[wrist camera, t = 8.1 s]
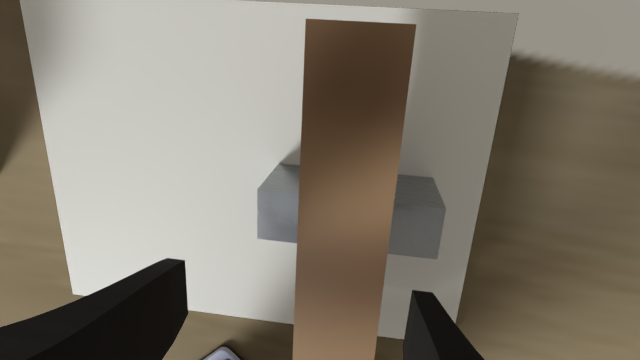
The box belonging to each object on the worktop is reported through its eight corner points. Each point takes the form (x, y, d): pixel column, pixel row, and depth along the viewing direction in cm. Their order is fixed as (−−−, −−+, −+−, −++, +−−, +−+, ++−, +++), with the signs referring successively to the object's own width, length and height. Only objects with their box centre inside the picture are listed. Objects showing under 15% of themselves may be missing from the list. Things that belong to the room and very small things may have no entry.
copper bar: (365, 373, 20) (362, 451, 16) (305, 364, 20) (289, 439, 16) (406, 29, 14) (416, 24, 11) (323, 24, 15) (305, 18, 11)
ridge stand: (511, 15, 18) (558, 4, 13) (447, 334, 24) (465, 404, 19) (34, -8, 21) (-67, -23, 16) (83, 285, 27) (21, 336, 22)
